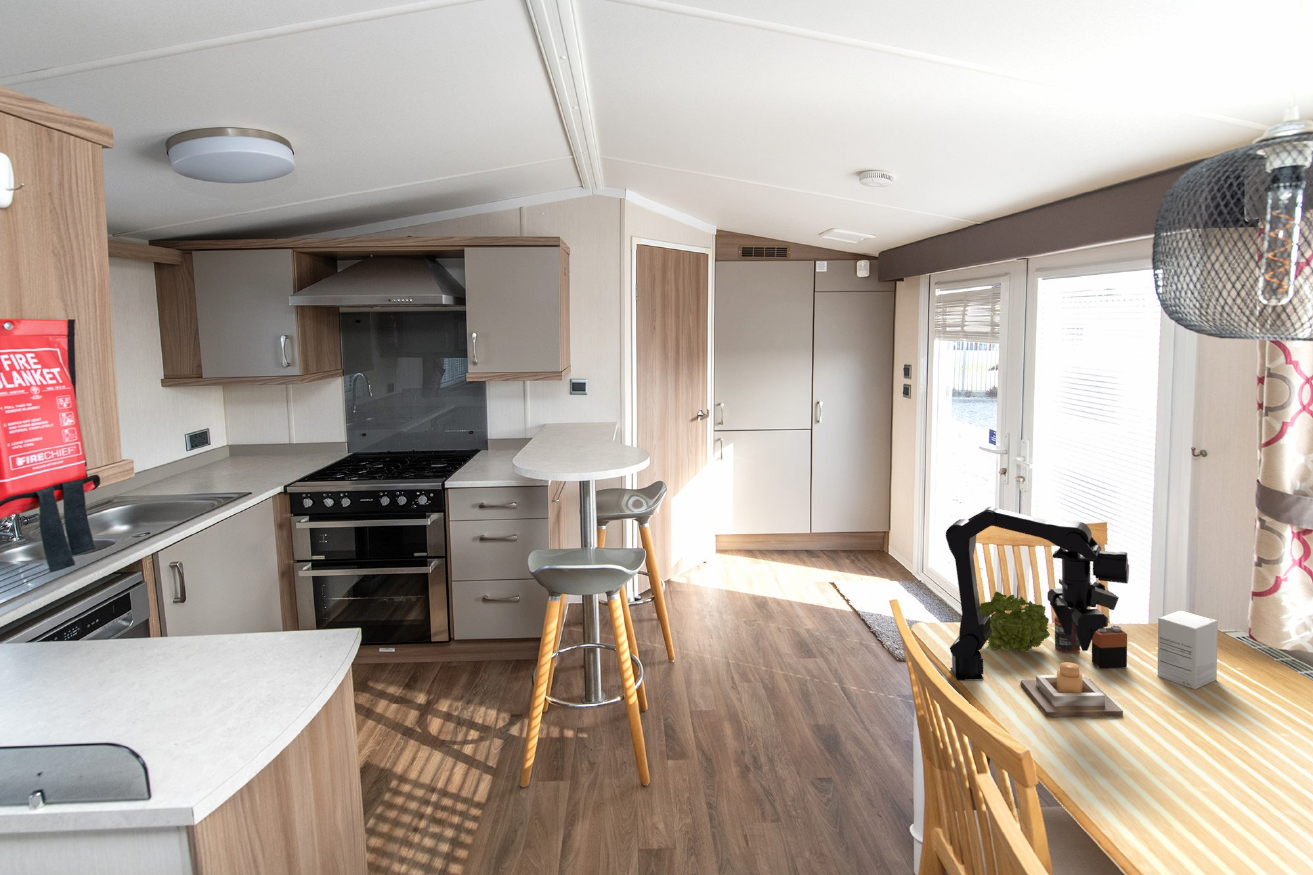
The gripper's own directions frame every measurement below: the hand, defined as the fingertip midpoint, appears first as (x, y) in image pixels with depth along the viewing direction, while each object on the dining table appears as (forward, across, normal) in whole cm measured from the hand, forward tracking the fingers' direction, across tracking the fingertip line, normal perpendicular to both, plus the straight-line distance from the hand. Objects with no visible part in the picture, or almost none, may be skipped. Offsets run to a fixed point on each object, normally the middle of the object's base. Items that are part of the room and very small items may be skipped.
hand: (1076, 642), depth 179 cm
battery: (+13, +17, -14) cm, 26 cm away
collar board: (+13, -2, +2) cm, 13 cm away
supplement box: (+14, +9, -29) cm, 33 cm away
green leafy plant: (+13, +27, +6) cm, 31 cm away
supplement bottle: (+13, +27, -8) cm, 31 cm away
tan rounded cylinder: (+12, -2, +2) cm, 12 cm away
